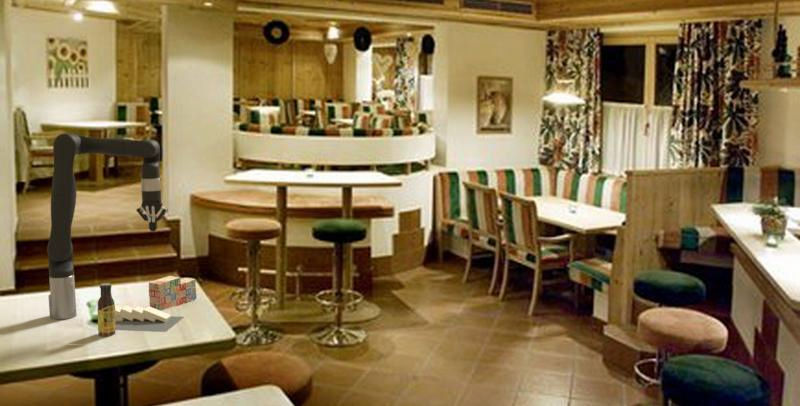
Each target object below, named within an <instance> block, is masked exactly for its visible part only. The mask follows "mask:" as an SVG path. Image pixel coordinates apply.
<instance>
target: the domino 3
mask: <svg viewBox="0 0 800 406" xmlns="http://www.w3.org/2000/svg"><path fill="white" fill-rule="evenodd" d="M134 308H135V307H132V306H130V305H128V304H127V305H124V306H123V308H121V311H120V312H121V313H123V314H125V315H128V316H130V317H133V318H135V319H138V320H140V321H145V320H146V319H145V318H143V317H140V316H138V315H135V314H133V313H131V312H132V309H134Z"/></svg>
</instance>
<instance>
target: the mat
mask: <svg viewBox="0 0 800 406" xmlns="http://www.w3.org/2000/svg"><path fill="white" fill-rule="evenodd" d="M184 318H185V316H175V315H174V316H173V315H171V318H170V319H169V320H168V321H166V322H163V321H160V320H156V321H155V322H153V321H150V320H148V319H146V320H145V321H140V320H138V319H135V320H133V321H130V320H128V319H125V320H123V321H115V326H116V330H115V331H131V332H132V331H133V332H134V331H135V332H139V331H140V332H157V333H159V332H161V333H166V332H168V331H169V330H170V329H171V328H172V327H174V326H175V325H177V324H178V323H179V322H180V321H182V319H184Z"/></svg>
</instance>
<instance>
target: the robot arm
mask: <svg viewBox="0 0 800 406" xmlns="http://www.w3.org/2000/svg"><path fill="white" fill-rule="evenodd" d="M52 147H53V150H52V151H53V174H52V181H51V184H52V185H51V193H50V222H51V224H50V225H51V226H50V227H51V228H50V235H49V239H48V244H47V247H46V252H47V256H48V274H49V276H48V277H49V279H48V280H49V290H50V294H48V307H49V308H48V309H49V318H50V319H53V320H68V319H72V318H74V317H76V316H77V300H76V299H77V298H76V286H75V285H76V284H75V269H74V268H75V267H74V266H75V265H74V264H75V263H74V250H73V243H72V224H73V219H74V216H75V209H76V205H77V204H76V203H77V182H76V180H75V179H76V178H75V175H74V164H75V157H76V155H82V154H83V155H84V154H85V155H86V154H98V155H99V154H100V155H108V156H114V157H116V156H117V157H134V158H140V159H141V158H142V165H141V169H140V175H141V182H140V189H141V206H140V207H138V208H136V212H137V213H138V214H139V215H140V217H141V218H142V220H144V221H145V222H148V230H149V231H150V232H156V231H157V229H158V222H159V221H162V219H163V217H164V216H165V215H166V214H167V212H168V211H169V209H168V207H164V205H163V204H164V203H162V186H161V185H162V183H161V179H160V178H161V175H160V172H161V171H160V162H161V161H160V159H161V147H160V144H159V142H158V141H156V140H155V139H151V138H150V139H147V140H145V139H144V140H140V139H139V140H135V139H131V138H119V137H117V138H116V137H115V138H113V137H112V138H111V137H108V138H106V137H105V138H103V137H90V136H84V135H79V134H75V133H73V132H72V133H71V132H69V133H68V132H65V133H60V134H58V135H57V136H56V137H55V139H54V141H53V146H52ZM159 212H160V213H159Z"/></svg>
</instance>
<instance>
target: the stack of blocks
mask: <svg viewBox="0 0 800 406" xmlns="http://www.w3.org/2000/svg"><path fill="white" fill-rule="evenodd" d="M148 296H149V297H148V298H149V306H150V307H152V308H155V309H157V310H160V311H164V310H168V309H170V308H173V307H178V306H181V305H183V303H184V304H187V303H189V301H190V302H192V300H193V301H195V300H194V299H196V300H197V283H196V279H195V278H189V277H184V278H181V277H179V276H174V275H168V276H164V277H162V278H161V277H160V278H157V279H156V280H151V281H148ZM186 302H187V303H186Z"/></svg>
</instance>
